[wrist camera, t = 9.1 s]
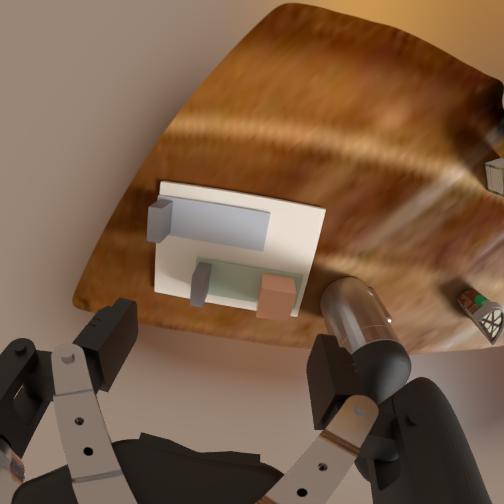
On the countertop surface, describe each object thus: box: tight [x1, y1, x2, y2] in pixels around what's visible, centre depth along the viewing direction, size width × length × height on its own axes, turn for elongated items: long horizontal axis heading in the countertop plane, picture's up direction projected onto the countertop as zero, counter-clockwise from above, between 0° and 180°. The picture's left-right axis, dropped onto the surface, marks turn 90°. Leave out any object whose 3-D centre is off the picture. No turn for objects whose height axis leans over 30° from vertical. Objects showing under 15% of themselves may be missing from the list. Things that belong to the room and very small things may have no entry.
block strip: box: [190, 257, 303, 309], centre depth 44 cm, size 17×6×6 cm, turn 80°
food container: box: [456, 289, 504, 345], centre depth 43 cm, size 12×6×10 cm, turn 51°
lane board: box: [155, 181, 326, 317], centre depth 46 cm, size 25×19×1 cm
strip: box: [147, 195, 271, 252], centre depth 41 cm, size 17×6×6 cm, turn 80°
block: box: [256, 273, 296, 322], centre depth 44 cm, size 5×5×5 cm
